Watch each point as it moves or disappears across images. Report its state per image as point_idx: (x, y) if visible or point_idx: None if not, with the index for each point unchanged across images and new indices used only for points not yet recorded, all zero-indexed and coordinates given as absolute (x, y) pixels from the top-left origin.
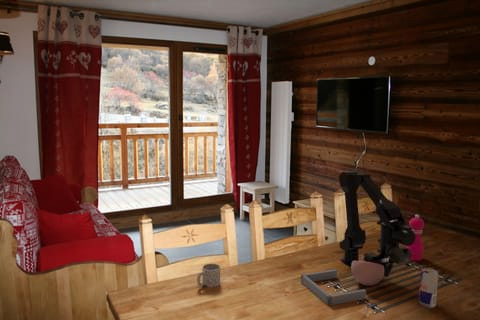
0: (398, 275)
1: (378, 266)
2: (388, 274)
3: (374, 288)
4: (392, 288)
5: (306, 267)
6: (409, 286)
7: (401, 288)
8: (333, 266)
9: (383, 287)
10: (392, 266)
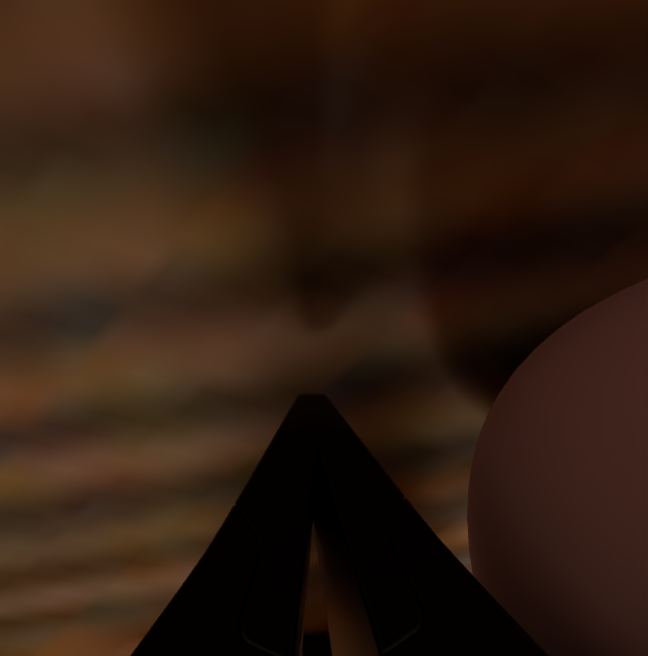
0: (43, 436)
1: None
2: (301, 420)
3: (623, 258)
4: (410, 147)
5: None
6: (51, 74)
7: (264, 72)
8: None
9: (497, 235)
10: (188, 608)
